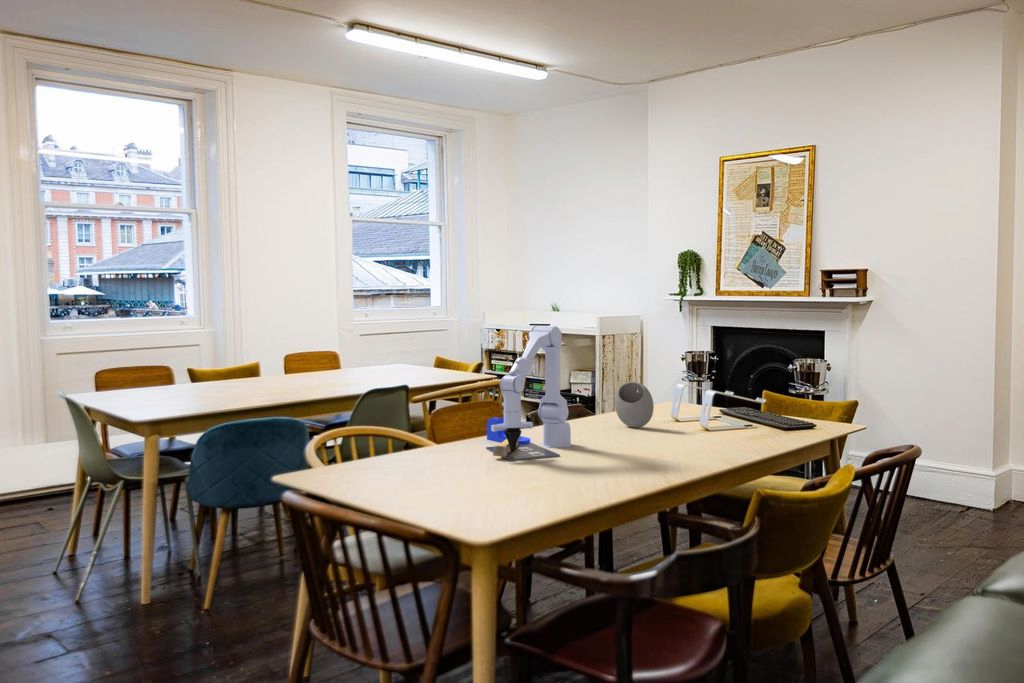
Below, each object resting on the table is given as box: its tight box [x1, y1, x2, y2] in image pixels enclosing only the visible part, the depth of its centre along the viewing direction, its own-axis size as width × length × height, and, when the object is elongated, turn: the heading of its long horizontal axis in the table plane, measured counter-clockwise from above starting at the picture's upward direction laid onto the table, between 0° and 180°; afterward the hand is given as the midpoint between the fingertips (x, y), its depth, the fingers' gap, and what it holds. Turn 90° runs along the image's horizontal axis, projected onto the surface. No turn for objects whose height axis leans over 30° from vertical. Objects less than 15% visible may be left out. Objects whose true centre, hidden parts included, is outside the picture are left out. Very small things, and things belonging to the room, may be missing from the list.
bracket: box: [486, 415, 531, 444], centre depth 305 cm, size 18×8×9 cm, turn 39°
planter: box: [614, 381, 654, 429], centre depth 335 cm, size 18×7×19 cm, turn 46°
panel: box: [485, 438, 561, 462], centre depth 284 cm, size 18×22×6 cm
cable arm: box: [492, 439, 518, 457], centre depth 282 cm, size 20×4×3 cm, turn 166°
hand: (512, 451), depth 277 cm, fingers closed
